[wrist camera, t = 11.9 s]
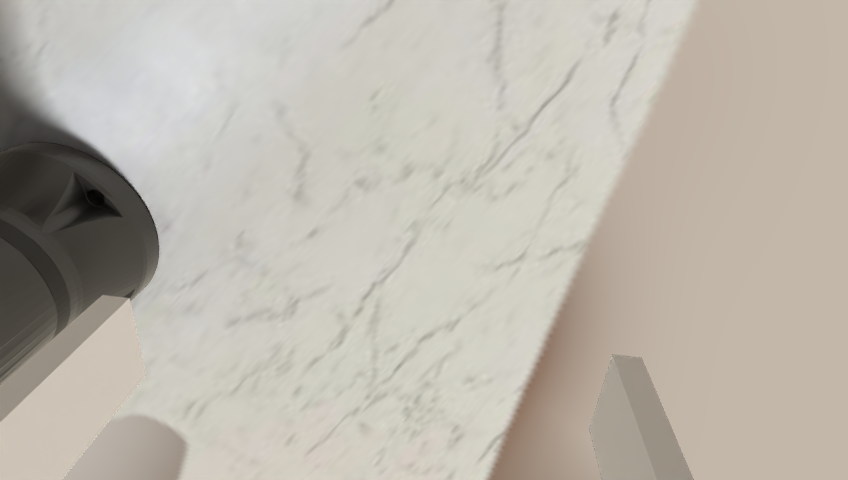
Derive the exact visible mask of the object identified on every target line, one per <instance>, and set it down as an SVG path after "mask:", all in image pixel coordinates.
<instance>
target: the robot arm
mask: <svg viewBox="0 0 848 480" xmlns="http://www.w3.org/2000/svg"><path fill="white" fill-rule="evenodd" d="M158 258H159V245H158V238H157V233H156V230H155V227H154V224H153V221H152V219H151V217H150V215H149V213H148V211H147V209H146V207H145V205H144V204H143V202H142V201H141V199H140V198H139V197H138V195H137V194H136V193H135V192H134V190H133V189H132V188H131V187H130V186H129V185H128V184H127V183H126V182H125V181H124V180H123V179H122V178H121V177H120V176H119V175H118V174H117V173H115V172H114V171H113V170H112V169H110V168H109V167H108V166H106V165H105V164H103V163H102V162H100V161H99V160H97V159H95V158H93V157H91V156H90V155H88V154H85V153H83V152H81V151H79V150H76V149H73V148H70V147H67V146H63V145H59V144H53V143H41V142H37V143H27V144H22V145H18V146H15V147H12V148H10V149H7V150H5V151H2V152H0V480H62V479H63V478H64V477H65V475H66V474H67V473H68V472H69V470H70V469H71V468H72V467H73V465H74V464H75V463H76V462H77V461H78V459H79V458H80V457H81V456H82V454H83V453H84V452H85V451H86V449H87V448H88V447H89V446H90V444H91V443H92V442H93V441H94V439H95V438H96V437H97V436H98V434H99V433H100V432H101V431H102V430H103V428H104V427H105V426H106V425H107V423H108V422H109V421H110V420H111V418H112V417H113V416H114V415H115V413H116V412H117V411H118V410H119V408H120V407H121V406H122V405H123V403H124V402H125V401H126V400H127V398H128V397H129V396H130V395H131V393H132V392H133V391H134V390H135V388H136V387H137V386H138V385H139V384H140V382H141V381H142V380H143V379H144V377H145V376H146V371H145V367H144V362H143V358H142V353H141V348H140V344H139V339H138V335H137V330H136V325H135V321H134V316H133V312H132V307H131V302H130V301H131V300H132V299H133V298H134V297H135V296H136V295H137V294H138V293H140V292H141V291H142V290H143V289H144V288H145V287H146V286H147V284H148V283H149V282H150V280H151V279H152V277H153V275H154V273H155V271H156V268H157V264H158ZM589 430H590V434H591V438H592V442H593V447H594V451H595V455H596V459H597V463H598V467H599V471H600V475H601V478H602V480H694V479H693V477H692V474H691V472H690V470H689V467H688V465H687V463H686V460H685V458H684V456H683V453H682V451H681V449H680V446H679V444H678V442H677V439H676V437H675V435H674V432H673V430H672V427H671V425H670V423H669V420H668V418H667V416H666V413H665V411H664V409H663V406H662V404H661V402H660V399H659V397H658V395H657V392H656V390H655V388H654V385H653V383H652V381H651V378H650V376H649V373H648V371H647V369H646V366H645V364H644V362H643V359H642V358H640V357H631V356H622V355H614V354H612V358H611V361H610V364H609V367H608V370H607V374H606V377H605V380H604V383H603V387H602V390H601V393H600V396H599V400H598V403H597V406H596V409H595V412H594V416H593V419H592V422H591V425H590V428H589Z"/></svg>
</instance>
